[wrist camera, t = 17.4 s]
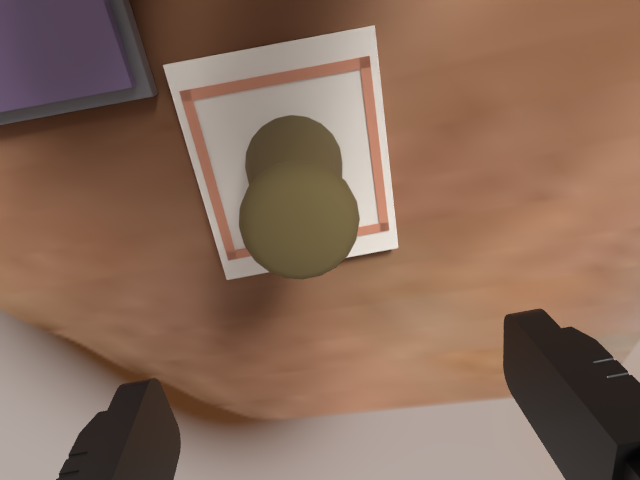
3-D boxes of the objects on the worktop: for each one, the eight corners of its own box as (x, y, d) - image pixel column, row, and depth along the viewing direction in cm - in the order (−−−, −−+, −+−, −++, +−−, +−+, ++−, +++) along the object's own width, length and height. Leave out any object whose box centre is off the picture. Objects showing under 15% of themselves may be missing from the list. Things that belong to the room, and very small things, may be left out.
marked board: (166, 64, 26) (162, 65, 25) (371, 25, 26) (375, 25, 25) (228, 273, 32) (226, 281, 31) (394, 241, 32) (398, 248, 31)
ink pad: (-116, -101, 22) (-152, -113, 20) (86, -138, 22) (68, -154, 20) (-9, 125, 27) (-30, 131, 25) (158, 94, 27) (149, 98, 25)
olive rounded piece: (239, 117, 26) (214, 166, 16) (341, 112, 27) (377, 158, 17) (250, 213, 29) (233, 306, 19) (343, 207, 29) (375, 296, 19)
